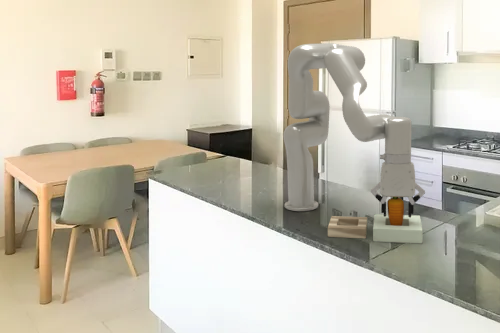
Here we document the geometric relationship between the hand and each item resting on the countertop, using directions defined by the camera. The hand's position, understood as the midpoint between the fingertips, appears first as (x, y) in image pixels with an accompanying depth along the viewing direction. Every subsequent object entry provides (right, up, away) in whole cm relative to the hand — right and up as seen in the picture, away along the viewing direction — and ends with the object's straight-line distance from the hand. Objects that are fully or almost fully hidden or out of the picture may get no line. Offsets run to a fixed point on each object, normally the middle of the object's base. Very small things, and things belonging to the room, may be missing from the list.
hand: (397, 215), depth 157 cm
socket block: (-14, -6, +6) cm, 16 cm away
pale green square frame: (0, -6, +1) cm, 6 cm away
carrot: (0, -6, +2) cm, 6 cm away
